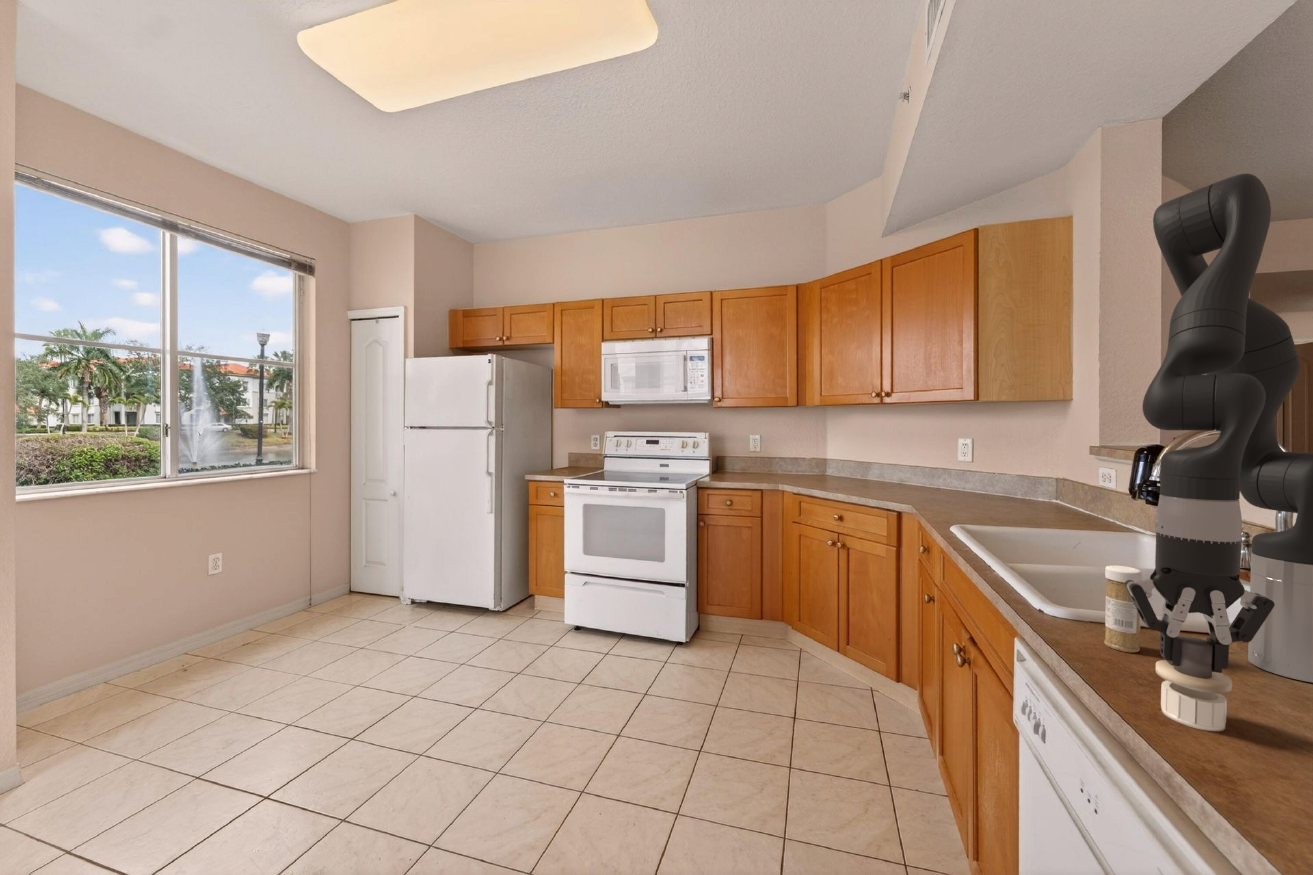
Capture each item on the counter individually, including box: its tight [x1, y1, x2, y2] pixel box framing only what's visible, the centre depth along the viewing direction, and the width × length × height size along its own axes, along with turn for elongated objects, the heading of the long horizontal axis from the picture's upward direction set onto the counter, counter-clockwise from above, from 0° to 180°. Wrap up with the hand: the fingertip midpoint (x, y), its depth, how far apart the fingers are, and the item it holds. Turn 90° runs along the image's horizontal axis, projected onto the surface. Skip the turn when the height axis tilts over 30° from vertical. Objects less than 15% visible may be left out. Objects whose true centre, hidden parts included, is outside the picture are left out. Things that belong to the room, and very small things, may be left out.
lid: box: [1155, 635, 1233, 695], centre depth 67 cm, size 7×7×5 cm
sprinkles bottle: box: [1103, 565, 1143, 653], centre depth 88 cm, size 5×5×13 cm
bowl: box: [1160, 680, 1228, 732], centre depth 67 cm, size 6×6×4 cm
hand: (1193, 666), depth 67 cm, fingers closed on lid, 3 cm apart
